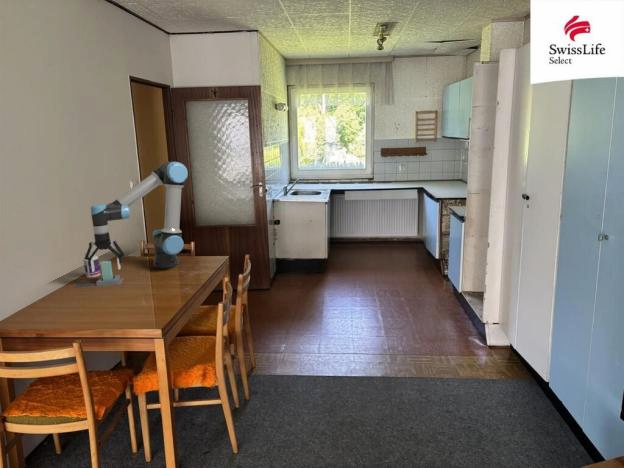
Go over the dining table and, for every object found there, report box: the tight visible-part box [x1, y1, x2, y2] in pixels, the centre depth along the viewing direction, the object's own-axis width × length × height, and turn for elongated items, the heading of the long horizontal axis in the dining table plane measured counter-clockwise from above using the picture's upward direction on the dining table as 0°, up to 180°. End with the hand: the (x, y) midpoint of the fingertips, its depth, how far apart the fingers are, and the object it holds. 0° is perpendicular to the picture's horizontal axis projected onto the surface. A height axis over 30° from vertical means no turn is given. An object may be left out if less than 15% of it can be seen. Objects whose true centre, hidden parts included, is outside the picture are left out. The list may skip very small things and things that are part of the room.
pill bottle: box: [82, 251, 102, 278], centre depth 276 cm, size 8×8×14 cm
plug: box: [100, 260, 114, 281], centre depth 260 cm, size 4×4×12 cm
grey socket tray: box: [93, 274, 124, 288], centre depth 262 cm, size 14×11×3 cm
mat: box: [73, 280, 96, 289], centre depth 261 cm, size 9×9×1 cm
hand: (106, 270), depth 260 cm, fingers open, 13 cm apart
